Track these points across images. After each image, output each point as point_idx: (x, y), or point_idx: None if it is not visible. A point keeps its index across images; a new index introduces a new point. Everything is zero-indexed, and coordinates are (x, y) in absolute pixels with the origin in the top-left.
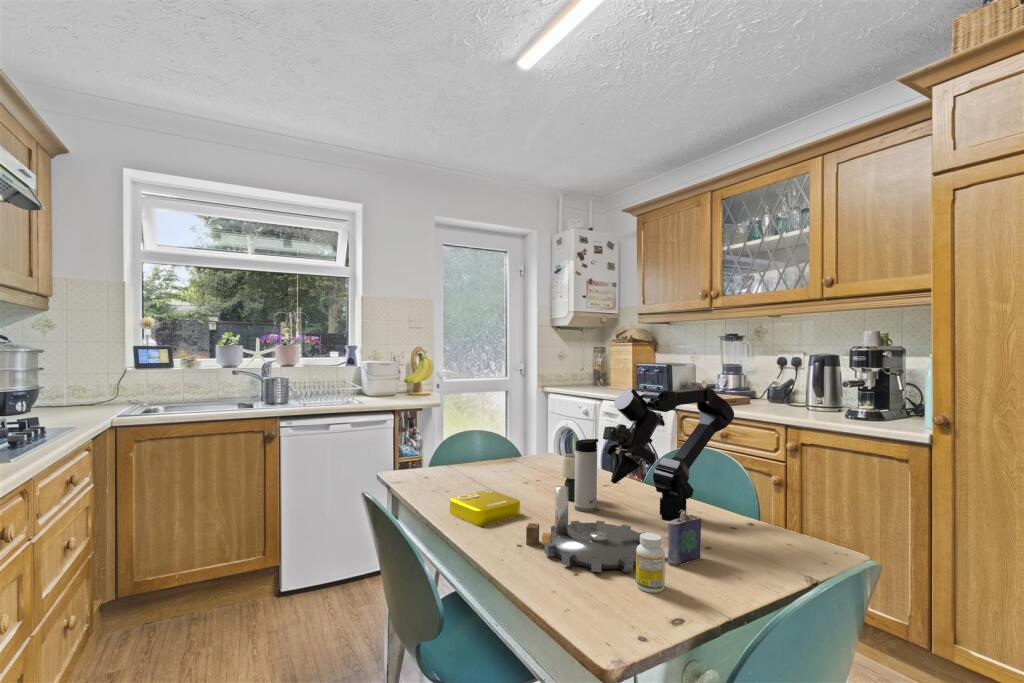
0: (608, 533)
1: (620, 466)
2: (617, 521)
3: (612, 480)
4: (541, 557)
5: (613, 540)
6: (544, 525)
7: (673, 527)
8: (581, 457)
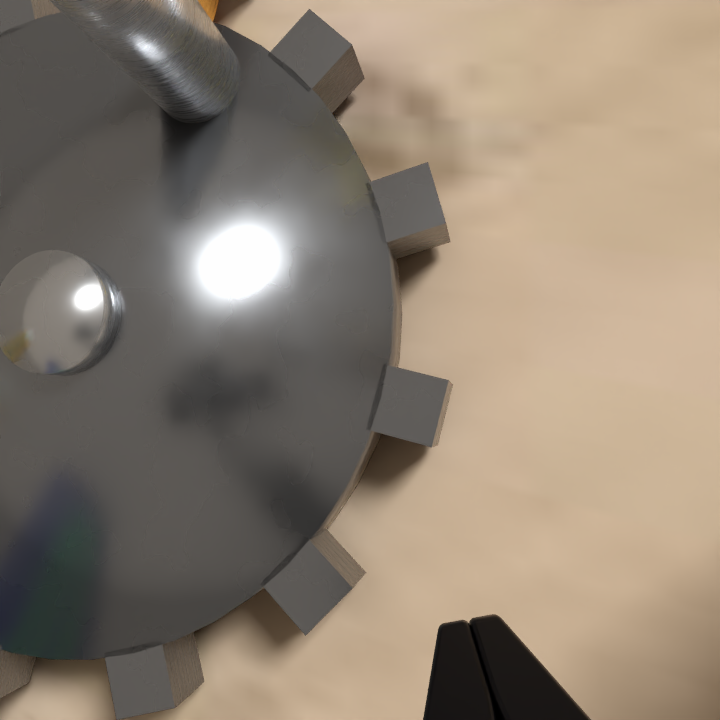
0: (158, 407)
1: None
2: (703, 626)
3: (443, 635)
4: None
5: (40, 410)
6: (576, 10)
7: None
8: None
